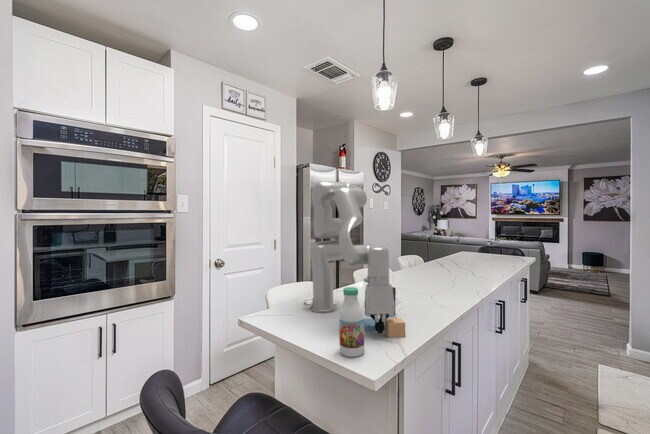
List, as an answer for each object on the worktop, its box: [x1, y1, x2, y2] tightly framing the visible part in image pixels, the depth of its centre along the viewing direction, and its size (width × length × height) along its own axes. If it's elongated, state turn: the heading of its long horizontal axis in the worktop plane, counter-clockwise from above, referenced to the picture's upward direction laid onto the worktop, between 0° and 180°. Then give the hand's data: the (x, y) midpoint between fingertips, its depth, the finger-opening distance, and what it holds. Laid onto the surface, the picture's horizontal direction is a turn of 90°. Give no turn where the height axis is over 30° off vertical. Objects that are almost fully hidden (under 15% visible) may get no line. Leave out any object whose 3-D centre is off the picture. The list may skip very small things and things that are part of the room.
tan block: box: [384, 317, 406, 339], centre depth 105 cm, size 6×5×5 cm
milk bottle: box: [338, 286, 365, 358], centre depth 92 cm, size 8×8×20 cm
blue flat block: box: [363, 316, 398, 333], centre depth 113 cm, size 14×9×2 cm, turn 94°
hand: (379, 332), depth 105 cm, fingers closed
